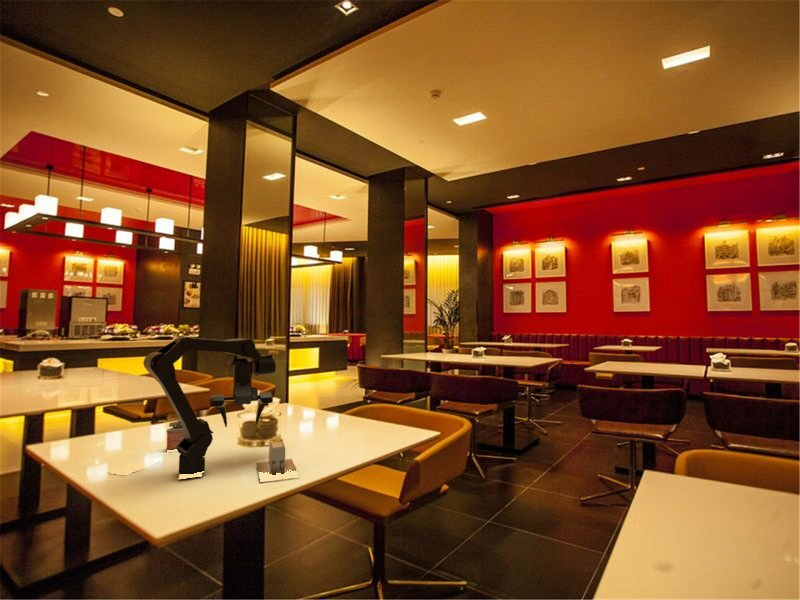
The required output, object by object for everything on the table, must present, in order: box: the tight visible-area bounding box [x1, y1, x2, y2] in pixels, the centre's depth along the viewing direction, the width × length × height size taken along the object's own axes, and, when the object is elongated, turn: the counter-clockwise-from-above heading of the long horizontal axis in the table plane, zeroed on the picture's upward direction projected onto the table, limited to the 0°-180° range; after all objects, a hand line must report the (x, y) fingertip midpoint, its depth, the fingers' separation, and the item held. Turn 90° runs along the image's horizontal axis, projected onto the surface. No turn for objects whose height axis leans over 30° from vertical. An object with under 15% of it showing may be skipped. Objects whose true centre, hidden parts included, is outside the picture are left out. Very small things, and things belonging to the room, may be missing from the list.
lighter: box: [165, 419, 184, 451], centre depth 150 cm, size 8×3×10 cm, turn 149°
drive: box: [268, 440, 286, 473], centre depth 130 cm, size 4×7×7 cm, turn 22°
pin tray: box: [255, 458, 298, 475], centre depth 130 cm, size 11×14×4 cm
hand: (241, 425), depth 137 cm, fingers open, 9 cm apart
